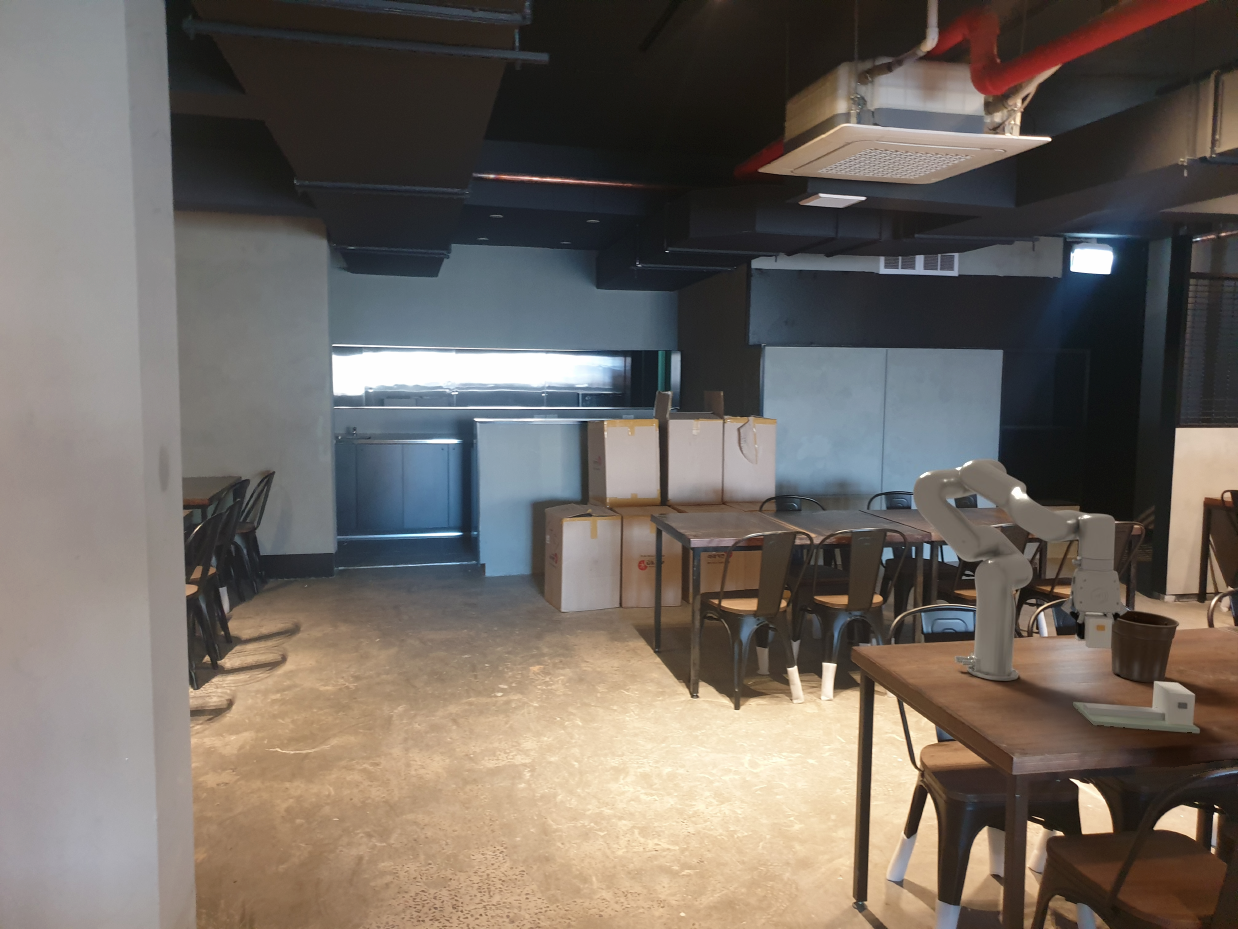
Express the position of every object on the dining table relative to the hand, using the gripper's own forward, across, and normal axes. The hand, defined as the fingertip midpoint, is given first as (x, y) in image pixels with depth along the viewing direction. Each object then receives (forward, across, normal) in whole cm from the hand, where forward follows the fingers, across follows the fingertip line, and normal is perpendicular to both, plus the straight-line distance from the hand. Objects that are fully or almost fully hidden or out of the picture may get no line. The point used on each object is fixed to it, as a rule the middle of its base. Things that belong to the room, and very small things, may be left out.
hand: (1092, 637), depth 202 cm
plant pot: (+16, +21, +23) cm, 35 cm away
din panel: (+16, +5, -10) cm, 20 cm away
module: (+2, 0, 0) cm, 2 cm away
